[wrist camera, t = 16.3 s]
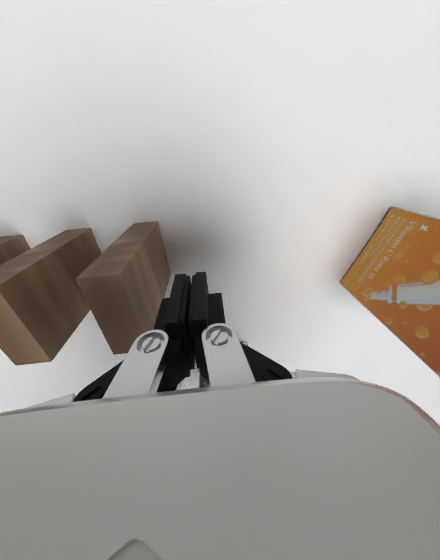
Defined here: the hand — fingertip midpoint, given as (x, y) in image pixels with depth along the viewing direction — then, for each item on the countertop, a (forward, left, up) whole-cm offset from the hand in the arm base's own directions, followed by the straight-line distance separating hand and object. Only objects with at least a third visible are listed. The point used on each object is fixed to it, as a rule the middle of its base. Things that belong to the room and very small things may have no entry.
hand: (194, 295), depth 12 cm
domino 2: (0, +4, -8) cm, 9 cm away
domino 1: (0, +9, -8) cm, 12 cm away
